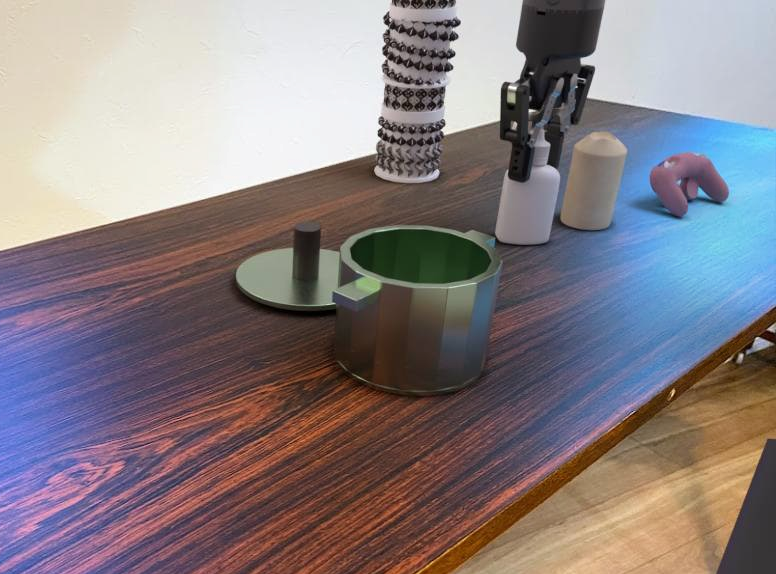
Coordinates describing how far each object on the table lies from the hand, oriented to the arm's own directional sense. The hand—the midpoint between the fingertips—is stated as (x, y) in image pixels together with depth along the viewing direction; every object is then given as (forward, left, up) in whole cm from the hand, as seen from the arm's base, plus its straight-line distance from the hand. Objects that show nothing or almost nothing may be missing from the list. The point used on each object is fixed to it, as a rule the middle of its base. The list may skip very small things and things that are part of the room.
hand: (532, 173), depth 96 cm
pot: (-8, +30, -7) cm, 32 cm away
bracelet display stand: (+23, -9, -8) cm, 26 cm away
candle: (-2, -10, -8) cm, 13 cm away
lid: (+8, +26, -7) cm, 28 cm away
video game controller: (-7, -24, -8) cm, 26 cm away
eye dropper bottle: (0, 0, -8) cm, 8 cm away
